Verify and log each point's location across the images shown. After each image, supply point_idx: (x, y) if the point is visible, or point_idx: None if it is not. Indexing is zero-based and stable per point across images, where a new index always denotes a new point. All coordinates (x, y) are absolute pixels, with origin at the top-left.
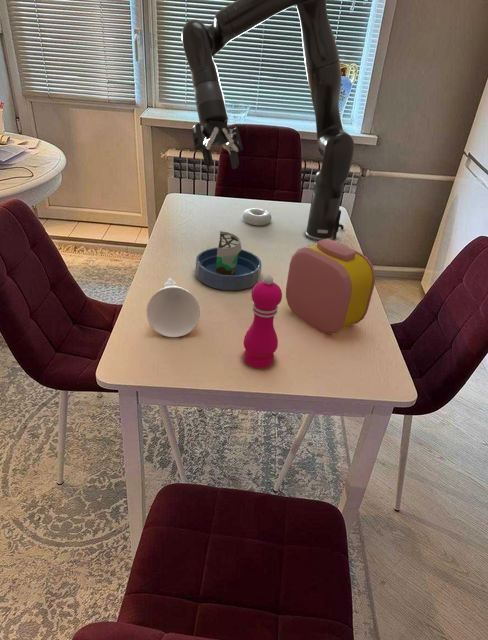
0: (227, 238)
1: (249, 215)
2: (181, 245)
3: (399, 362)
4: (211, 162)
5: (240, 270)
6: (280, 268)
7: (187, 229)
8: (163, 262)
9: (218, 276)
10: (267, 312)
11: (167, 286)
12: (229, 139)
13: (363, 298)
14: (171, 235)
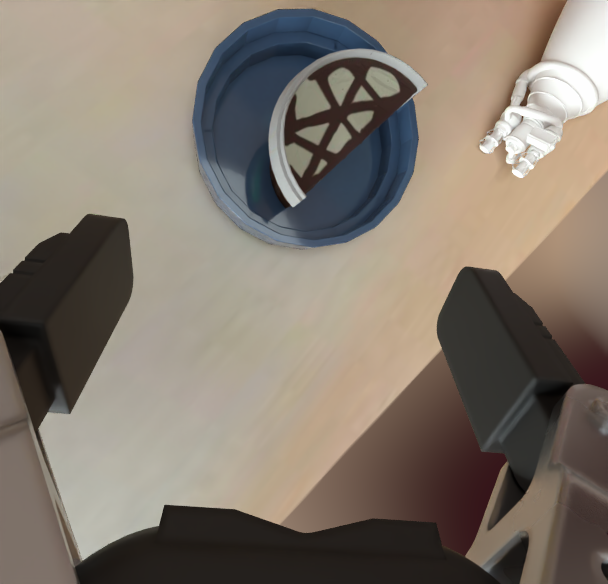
0: (309, 146)
1: None
2: (273, 404)
3: None
4: (495, 274)
5: (247, 137)
6: (101, 56)
7: (162, 510)
8: (392, 334)
9: None
10: None
11: (558, 130)
12: (20, 528)
13: None
14: (248, 489)
